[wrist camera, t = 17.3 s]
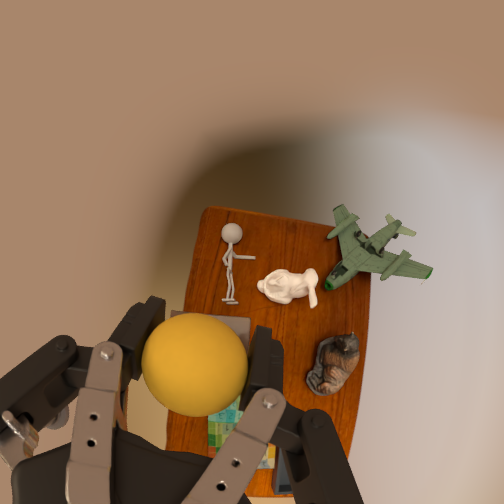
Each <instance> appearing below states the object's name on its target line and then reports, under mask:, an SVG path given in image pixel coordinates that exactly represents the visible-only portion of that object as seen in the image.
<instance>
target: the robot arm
mask: <svg viewBox="0 0 504 504" xmlns="http://www.w3.org/2000/svg"><path fill="white" fill-rule="evenodd" d="M165 305H166V301H165V300H164V299H161V298H158V297H155V296H150V297H149V298H148V300H147V301H146V303H145V304H143V303H140V302H138V303H137V304H135V305H134V306H132V307H131V308H130V309H129V310H128V312H127V313H126V315H125V316H124V318H123V319H122V321H121V322H120V323H119V325H118V326H117V328H116V329H115V330H114V332H113V333H112V335H111V337H110V338H109V339H108V341H104V342H101V343H99V344H97V345H96V346H95V347H84V346H77V345H76V342H75V340H74V339H73V338H72V337H70V336H68V335H59V336H56V337H55V338H53V339H52V340H51V341H49V342H48V343H46V344H45V345H44V346H42V347H41V348H40V349H38V350H37V351H36V352H34V353H33V354H32V355H30V356H29V357H28V358H26V359H25V360H24V361H22V362H21V363H20V364H19V365H17V366H16V367H15V368H13V369H12V370H11V371H10V372H8V373H7V374H6V375H5V376H4V377H2V378H1V379H0V456H1V457H2V459H3V460H4V461H5V463H6V464H7V465H8V467H9V468H10V469H11V471H12V475H11V486H12V495H13V504H251V502H250V501H249V499H248V498H247V496H246V495H245V493H244V491H245V490H246V488H247V486H248V484H249V483H250V481H251V479H252V477H253V475H254V474H255V472H256V470H257V468H258V466H259V464H260V462H261V460H262V458H263V457H264V455H265V453H266V451H267V448H268V446H269V444H268V443H270V444H273V445H275V446H277V447H279V448H281V451H282V455H283V459H284V463H285V466H286V470H287V474H288V478H289V481H290V485H291V488H292V492H293V496H294V499H295V502H296V504H364V503H363V500H362V497H361V495H360V492H359V489H358V487H357V484H356V482H355V479H354V476H353V474H352V471H351V468H350V466H349V463H348V460H347V458H346V455H345V453H344V450H343V447H342V445H341V442H340V440H339V437H338V434H337V432H336V429H335V427H334V424H333V422H332V419H331V417H330V416H329V415H328V414H327V413H326V412H324V411H322V410H320V409H310V410H308V411H306V412H305V411H302V410H300V409H298V408H295V407H293V406H292V405H290V404H289V403H288V402H287V401H286V399H285V398H284V395H283V361H284V360H283V358H284V349H283V347H282V345H281V342H280V341H278V340H273V339H271V337H272V328H267V327H263V326H259V325H257V326H256V329H255V332H254V335H253V338H252V341H251V343H250V346H249V350H248V354H247V359H248V376H247V380H246V384H245V386H244V389H243V390H242V392H241V396H240V402H239V408H238V411H243V415H242V416H241V418H240V420H239V421H238V423H237V424H236V426H235V427H234V428H233V430H232V431H231V433H230V434H229V436H228V437H227V439H226V440H225V442H224V443H223V445H222V447H221V448H220V450H219V451H218V453H217V454H216V456H215V457H214V458H211V457H206V456H202V455H198V454H194V453H190V452H178V451H166V450H161V449H159V448H158V447H156V446H154V445H153V444H151V443H150V442H148V441H146V440H145V439H143V438H142V437H140V436H138V435H135V434H132V433H130V432H128V431H127V401H128V385H129V382H130V380H131V379H134V380H137V381H138V380H139V378H140V376H141V374H142V366H141V361H142V352H143V349H144V345H145V343H146V341H147V339H148V337H149V336H150V334H151V333H152V332H153V330H154V329H155V328H156V327H157V326H158V325H160V324H161V323H162V322H164V321H165ZM77 396H78V400H77V406H76V411H75V418H74V426H73V433H72V441H71V442H70V443H67V444H65V445H62V446H60V447H57V448H55V449H52V450H49V451H47V452H44V453H41V454H38V455H36V456H33V451H34V449H35V448H36V447H37V446H38V441H39V436H38V432H39V431H40V430H41V429H42V428H45V427H47V426H50V425H54V424H56V423H57V422H58V421H59V420H60V417H61V411H62V410H63V409H64V408H65V407H66V406H67V405H68V404H69V403H70V402H72V401H73V400H74V399H75V398H76V397H77Z"/></svg>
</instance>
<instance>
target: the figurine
mask: <svg viewBox="0 0 504 504" xmlns="http://www.w3.org/2000/svg"><path fill="white" fill-rule="evenodd" d="M222 238H223V240H224V241H225V242H227V243H229V249H228V250H227V252H226V253H225V255H224V257H223V262H224V264H225V266H228V268H227V278H228V284H229V286H228V292H227V297H226V299H222V301H223V302H226V304H227V305H239V303H238V302H235V299H233V295H234V284H233V278H232V255H233V257H234V258H237V259H253V260H255V256H240V255H236V254H235V253H234V252H233V244H235V243H237V242H239V241H240V239H241V238H242V229H241V228H240V226H239V225H237V224H235V223H229V224H227V225H225V226H224V228H223V229H222ZM227 257H228V263H227V261H226V259H227ZM229 273H230V276H231V283H230V277H229ZM231 284H232V294H231V299H229V294H230V289H231Z"/></svg>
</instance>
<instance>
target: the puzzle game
mask: <svg viewBox="0 0 504 504" xmlns="http://www.w3.org/2000/svg"><path fill="white" fill-rule="evenodd" d="M240 396H241V395H239V397H238V398H237V399H236V400H235V401H234V402H233V403H232V404H231V405H230V406H229V407H227V408H226V409H224V410H222V411H220V412H218V413H215V414H212V415H208V457H211V458H214V457H215V456H216V454H217V453H218V451H219V450H220V448H221V447H222V445H223V443H224V442H225V440H226V439H227V437H228V436H229V434H230V433H231V431H232V430H233V428H234V427H235V426H236V424H237V423H238V421H239V420H240V418H241V416H242V415H243V411H238V408H239V402H240ZM268 444H269V446H268V448H267V451H266V453H265V455H264V457H263V458H262V460H261V462H260V464H259V466H258V468H257V469H269V468H274V465H275V449H276V446H275V445H273V444H270V443H268Z"/></svg>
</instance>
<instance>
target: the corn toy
mask: <svg viewBox="0 0 504 504" xmlns="http://www.w3.org/2000/svg"><path fill="white" fill-rule="evenodd" d="M141 366H142V373H143V376H144V380H145V382H146V385H147V387H148V389H149V390H150V392H151V393H152V394H153V396H154V397H155V398H156V399H157V400H158V401H159V402H160V403H161V404H162V405H164V406H165V407H166V408H168V409H170V410H171V411H174V412H176V413H178V414H181V415H185V416H192V417H202V416H208V415H212V414H215V413H218V412H220V411H222V410H224V409H226V408H227V407H229V406H230V405H231V404H232V403H233V402H234V401H235V400H236V399H237V398H238V397H239V395H240V394H241V392H242V390H243V389H244V386H245V384H246V380H247V376H248V359H247V354H246V351H245V348H244V346H243V343H242V342H241V340H240V338H239V337H238V336H237V334H236V333H235V332H234V331H233V330H232V329H231V328H230V327H229V326H228V325H226V324H225V323H224V322H222V321H220V320H218V319H216V318H214V317H212V316H208V315H205V314H199V313H187V314H181V315H177V316H174V317H171V318H169V319H168V320H166V321H164V322H162V323H161V324H160V325H158V326H157V327H156V328H155V329H154V330H153V332H152V333H151V334H150V336H149V337H148V339H147V341H146V343H145V345H144V349H143V352H142V361H141Z"/></svg>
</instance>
